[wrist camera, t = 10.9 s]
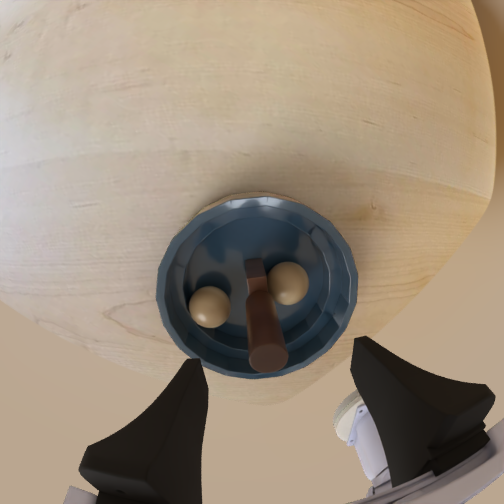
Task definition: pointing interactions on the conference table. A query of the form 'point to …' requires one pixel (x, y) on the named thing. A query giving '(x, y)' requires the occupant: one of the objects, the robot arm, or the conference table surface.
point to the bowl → (272, 253)
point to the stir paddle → (263, 322)
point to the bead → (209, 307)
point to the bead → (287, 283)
